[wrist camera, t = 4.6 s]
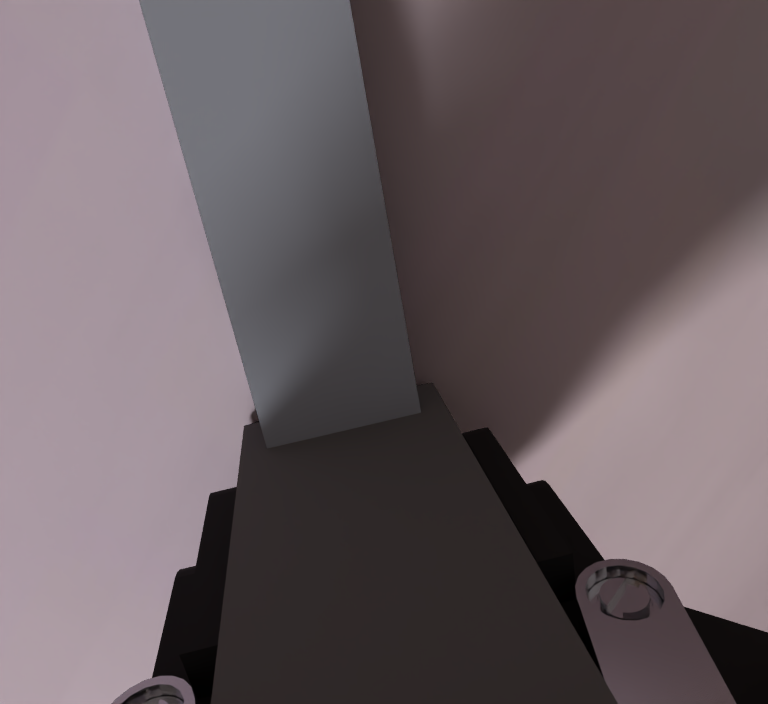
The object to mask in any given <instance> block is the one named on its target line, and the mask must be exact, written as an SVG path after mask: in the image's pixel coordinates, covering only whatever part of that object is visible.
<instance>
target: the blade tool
mask: <svg viewBox="0 0 768 704" xmlns="http://www.w3.org/2000/svg"><path fill="white" fill-rule="evenodd" d="M139 2H140V6H141V9H142V13H143V16H144V20H145V23H146V27H147V30H148V34H149V37H150V41H151V44H152V48H153V51H154V55H155V58H156V62H157V65H158V69H159V72H160V76H161V79H162V83H163V86H164V90H165V93H166V97H167V100H168V104H169V107H170V111H171V114H172V118H173V121H174V125H175V128H176V132H177V135H178V139H179V142H180V146H181V149H182V153H183V156H184V160H185V163H186V167H187V170H188V174H189V177H190V181H191V184H192V188H193V191H194V195H195V198H196V202H197V205H198V209H199V212H200V216H201V219H202V223H203V226H204V230H205V233H206V237H207V240H208V244H209V247H210V251H211V254H212V258H213V261H214V265H215V268H216V272H217V275H218V279H219V282H220V286H221V289H222V293H223V296H224V300H225V303H226V307H227V310H228V314H229V317H230V321H231V324H232V328H233V331H234V335H235V338H236V342H237V345H238V349H239V352H240V356H241V359H242V363H243V366H244V370H245V373H246V377H247V380H248V384H249V387H250V391H251V394H252V398H253V401H254V405H255V408H256V412H257V415H258V419H259V422H258V423H254V424H250V425H245V426H244V431H243V440H242V448H241V456H240V465H239V473H238V481H237V490H236V498H235V506H234V515H233V523H232V531H231V540H230V548H229V556H228V565H227V573H226V581H225V590H224V598H223V606H222V614H221V623H220V631H219V639H218V648H217V656H216V664H215V673H214V681H213V689H212V698H211V704H618V703H617V701H616V699H615V698H614V696H613V694H612V692H611V691H610V689H609V687H608V685H607V684H606V682H605V680H604V679H603V677H602V675H601V673H600V672H599V670H598V668H597V666H596V665H595V663H594V661H593V660H592V658H591V656H590V654H589V653H588V651H587V649H586V647H585V646H584V644H583V642H582V641H581V639H580V637H579V635H578V634H577V632H576V630H575V628H574V627H573V625H572V623H571V622H570V620H569V618H568V616H567V615H566V613H565V611H564V609H563V608H562V606H561V604H560V602H559V601H558V599H557V597H556V596H555V594H554V592H553V590H552V589H551V587H550V585H549V583H548V582H547V580H546V578H545V577H544V575H543V573H542V571H541V570H540V568H539V566H538V564H537V563H536V561H535V559H534V558H533V556H532V554H531V552H530V551H529V549H528V547H527V545H526V544H525V542H524V540H523V539H522V537H521V535H520V533H519V532H518V530H517V528H516V526H515V525H514V523H513V521H512V520H511V518H510V516H509V514H508V513H507V511H506V509H505V507H504V506H503V504H502V502H501V501H500V499H499V497H498V495H497V494H496V492H495V490H494V488H493V487H492V485H491V483H490V481H489V480H488V478H487V476H486V475H485V473H484V471H483V469H482V468H481V466H480V464H479V462H478V461H477V459H476V457H475V456H474V454H473V452H472V450H471V449H470V447H469V445H468V443H467V442H466V440H465V438H464V437H463V435H462V433H461V431H460V430H459V428H458V426H457V424H456V423H455V421H454V419H453V418H452V416H451V414H450V412H449V411H448V409H447V407H446V405H445V404H444V402H443V400H442V399H441V397H440V395H439V393H438V392H437V390H436V388H435V386H434V385H433V383H428V384H423V385H419V386H416V380H415V374H414V368H413V363H412V357H411V351H410V345H409V340H408V334H407V328H406V322H405V317H404V311H403V305H402V299H401V294H400V288H399V282H398V276H397V271H396V265H395V259H394V253H393V248H392V242H391V236H390V230H389V225H388V219H387V213H386V207H385V202H384V196H383V190H382V184H381V179H380V173H379V167H378V161H377V156H376V150H375V144H374V138H373V133H372V127H371V121H370V115H369V110H368V104H367V98H366V92H365V87H364V81H363V75H362V69H361V64H360V58H359V52H358V46H357V41H356V35H355V29H354V23H353V18H352V12H351V6H350V0H139Z"/></svg>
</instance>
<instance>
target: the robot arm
mask: <svg viewBox="0 0 768 704" xmlns="http://www.w3.org/2000/svg"><path fill="white" fill-rule="evenodd" d="M462 435H463V437H464V438H465V440H466V442H467V443H468V445H469V447H470V449H471V450H472V452H473V454H474V456H475V457H476V459H477V461H478V462H479V464H480V466H481V468H482V469H483V471H484V473H485V475H486V476H487V478H488V480H489V481H490V483H491V485H492V487H493V488H494V490H495V492H496V494H497V495H498V497H499V499H500V501H501V502H502V504H503V506H504V507H505V509H506V511H507V513H508V514H509V516H510V518H511V520H512V521H513V523H514V525H515V526H516V528H517V530H518V532H519V533H520V535H521V537H522V539H523V540H524V542H525V544H526V545H527V547H528V549H529V551H530V552H531V554H532V556H533V558H534V559H535V561H536V563H537V564H538V566H539V568H540V570H541V571H542V573H543V575H544V577H545V578H546V580H547V582H548V583H549V585H550V587H551V589H552V590H553V592H554V594H555V596H556V597H557V599H558V601H559V602H560V604H561V606H562V608H563V609H564V611H565V613H566V615H567V616H568V618H569V620H570V622H571V623H572V625H573V627H574V628H575V630H576V632H577V634H578V635H579V637H580V639H581V641H582V642H583V644H584V646H585V647H586V649H587V651H588V653H589V654H590V656H591V658H592V660H593V661H594V663H595V665H596V666H597V668H598V670H599V672H600V673H601V675H602V677H603V679H604V680H605V682H606V684H607V685H608V687H609V689H610V691H611V692H612V694H613V696H614V698H615V699H616V701H617V703H618V704H768V633H767V632H764V631H761V630H758V629H754V628H751V627H748V626H745V625H741V624H738V623H735V622H732V621H729V620H725V619H722V618H719V617H716V616H712V615H709V614H706V613H703V612H699V611H696V610H693V609H690V608H686V607H684V606H683V605H682V603H681V601H680V599H679V597H678V595H677V593H676V592H675V590H674V588H673V586H672V585H671V584H670V582H669V581H668V580H667V579H666V577H665V576H664V575H662V574H661V573H660V572H658V571H657V570H656V569H654V568H653V567H650V566H648V565H645V564H643V563H641V562H637V561H632V560H627V559H608V560H604V559H603V557H602V556H601V555H600V553H599V552H598V550H597V549H596V548H595V546H594V545H593V544H592V542H591V541H590V540H589V538H588V537H587V536H586V534H585V533H584V531H583V530H582V529H581V527H580V526H579V525H578V523H577V522H576V521H575V519H574V518H573V517H572V515H571V514H570V512H569V511H568V510H567V508H566V507H565V506H564V504H563V503H562V502H561V500H560V499H559V498H558V496H557V495H556V493H555V492H554V491H553V489H552V488H551V487H550V485H549V484H548V483H547V482H546V481H544V480H541V481H537V482H533V483H529V484H526V483H525V481H524V480H523V478H522V477H521V475H520V474H519V473H518V471H517V470H516V468H515V467H514V465H513V464H512V462H511V461H510V459H509V458H508V456H507V455H506V453H505V452H504V450H503V449H502V447H501V446H500V444H499V443H498V441H497V440H496V438H495V437H494V435H493V434H492V433H491V431H490V430H489V429H488V428H482V429H478V430H474V431H470V432H465V433H462ZM236 490H237V487H235V488H230V489H226V490H222V491H218V492H214V493H211V494H210V496H209V500H208V505H207V511H206V516H205V521H204V526H203V532H202V537H201V542H200V547H199V553H198V558H197V563H196V566H193V567H189V568H185V569H181V570H179V571H178V572H177V574H176V577H175V581H174V585H173V589H172V594H171V598H170V602H169V607H168V611H167V615H166V620H165V624H164V628H163V633H162V637H161V641H160V646H159V650H158V654H157V659H156V663H155V667H154V672H153V676H152V678H151V679H147V680H144V681H142V682H140V683H138V684H137V685H135V686H133V687H131V688H129V689H128V690H127V691H125V692H124V693H123V694H121V695H120V696H119V697H118V698H116V699H115V700H114V702H113V703H112V704H211V698H212V689H213V681H214V673H215V664H216V656H217V648H218V639H219V631H220V623H221V614H222V606H223V598H224V590H225V581H226V573H227V565H228V556H229V548H230V540H231V531H232V523H233V515H234V506H235V498H236Z"/></svg>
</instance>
